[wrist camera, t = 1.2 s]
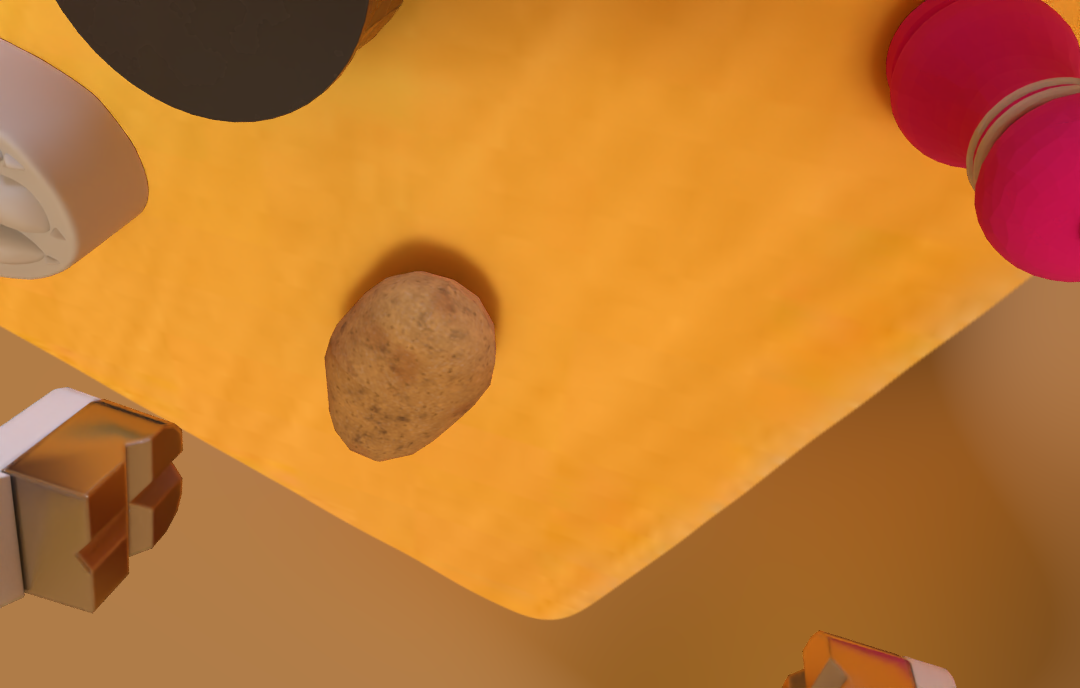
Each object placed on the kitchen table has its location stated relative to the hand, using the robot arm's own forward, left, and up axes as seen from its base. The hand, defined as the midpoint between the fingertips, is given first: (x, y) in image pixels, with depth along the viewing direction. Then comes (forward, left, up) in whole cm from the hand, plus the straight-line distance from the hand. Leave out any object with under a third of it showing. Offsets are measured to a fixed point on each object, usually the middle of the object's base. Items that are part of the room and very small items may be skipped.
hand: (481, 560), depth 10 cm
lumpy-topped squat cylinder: (+19, -32, -36) cm, 52 cm away
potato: (+24, -7, -36) cm, 44 cm away
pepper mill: (-1, +15, -36) cm, 39 cm away
